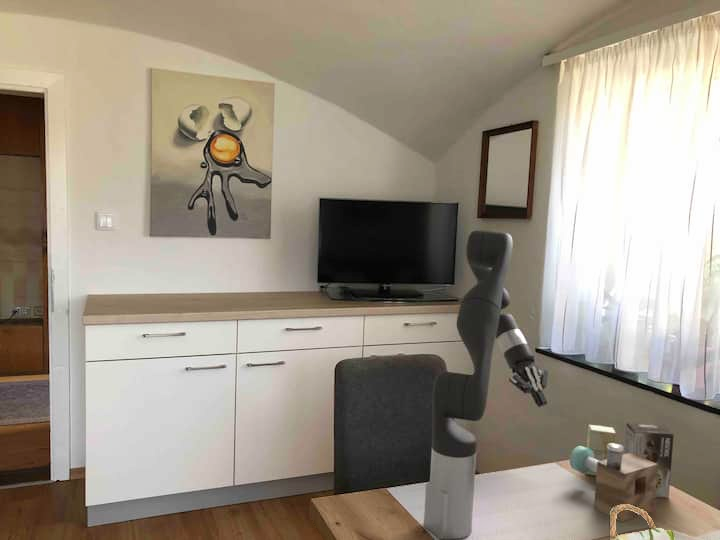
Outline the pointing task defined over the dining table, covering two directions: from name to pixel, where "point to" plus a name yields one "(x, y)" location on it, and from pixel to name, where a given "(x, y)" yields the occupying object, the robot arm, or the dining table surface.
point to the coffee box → (652, 450)
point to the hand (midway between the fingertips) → (543, 405)
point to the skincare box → (599, 442)
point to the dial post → (614, 456)
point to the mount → (626, 485)
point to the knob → (583, 460)
